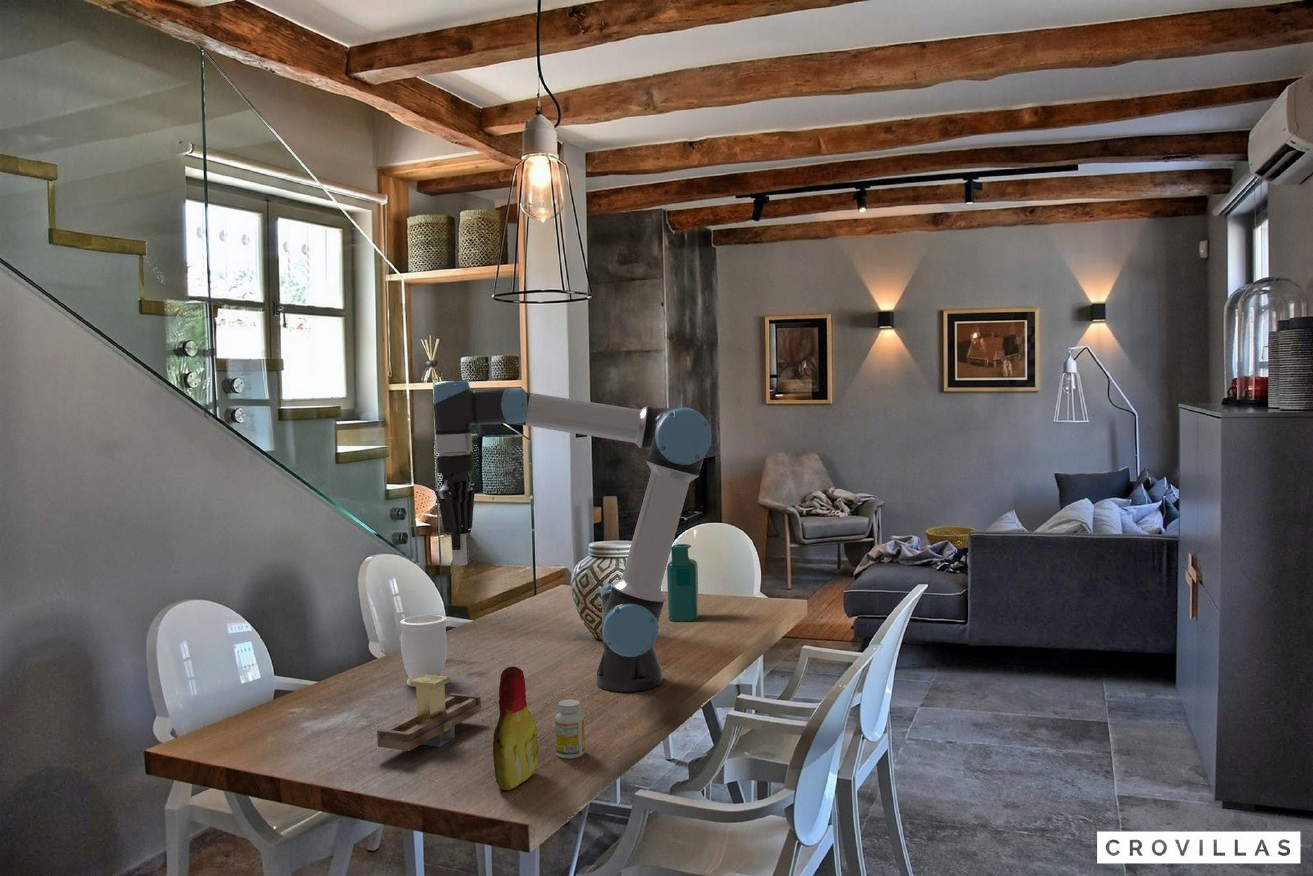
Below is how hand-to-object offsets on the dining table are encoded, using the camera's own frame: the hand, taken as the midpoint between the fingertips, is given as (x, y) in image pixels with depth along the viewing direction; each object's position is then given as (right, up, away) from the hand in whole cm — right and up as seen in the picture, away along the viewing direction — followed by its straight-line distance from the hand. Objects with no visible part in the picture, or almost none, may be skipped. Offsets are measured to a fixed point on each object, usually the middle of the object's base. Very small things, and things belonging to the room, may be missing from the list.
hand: (460, 564), depth 212 cm
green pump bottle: (+50, -26, +80) cm, 98 cm away
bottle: (+17, -32, -41) cm, 55 cm away
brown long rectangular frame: (-2, -32, -19) cm, 37 cm away
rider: (-2, -28, -19) cm, 34 cm away
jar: (-12, -31, +21) cm, 39 cm away
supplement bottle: (+26, -32, -28) cm, 49 cm away
